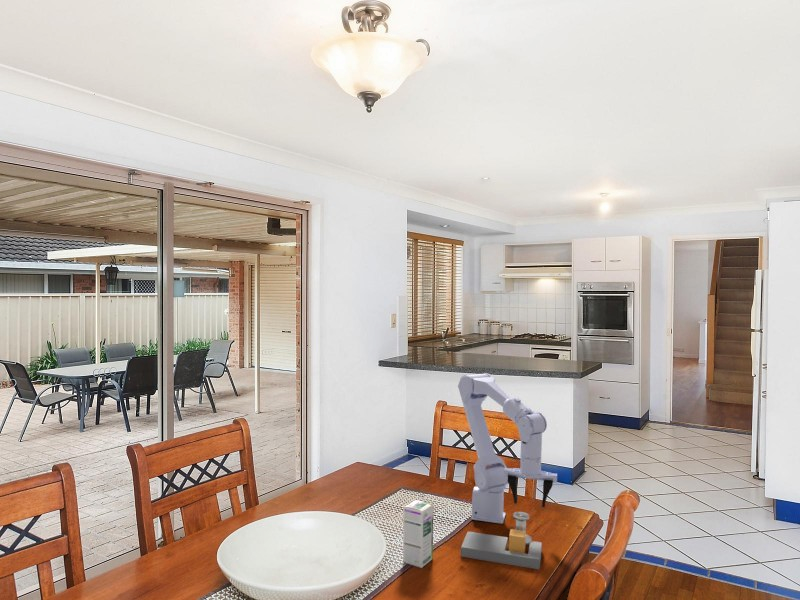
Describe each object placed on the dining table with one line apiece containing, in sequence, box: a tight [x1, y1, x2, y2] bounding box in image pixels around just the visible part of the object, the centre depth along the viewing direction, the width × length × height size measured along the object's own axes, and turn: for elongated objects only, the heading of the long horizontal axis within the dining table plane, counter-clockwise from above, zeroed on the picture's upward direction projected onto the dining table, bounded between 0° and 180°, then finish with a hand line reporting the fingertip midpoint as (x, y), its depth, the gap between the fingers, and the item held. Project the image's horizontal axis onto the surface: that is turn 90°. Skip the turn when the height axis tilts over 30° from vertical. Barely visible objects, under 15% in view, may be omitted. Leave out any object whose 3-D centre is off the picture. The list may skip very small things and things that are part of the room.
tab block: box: [508, 528, 527, 554], centre depth 149 cm, size 4×4×6 cm
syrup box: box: [402, 499, 434, 569], centre depth 145 cm, size 6×6×14 cm
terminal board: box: [460, 531, 543, 570], centre depth 150 cm, size 20×10×2 cm, turn 73°
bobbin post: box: [512, 511, 533, 546], centre depth 158 cm, size 6×6×7 cm
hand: (529, 504), depth 160 cm, fingers open, 7 cm apart
